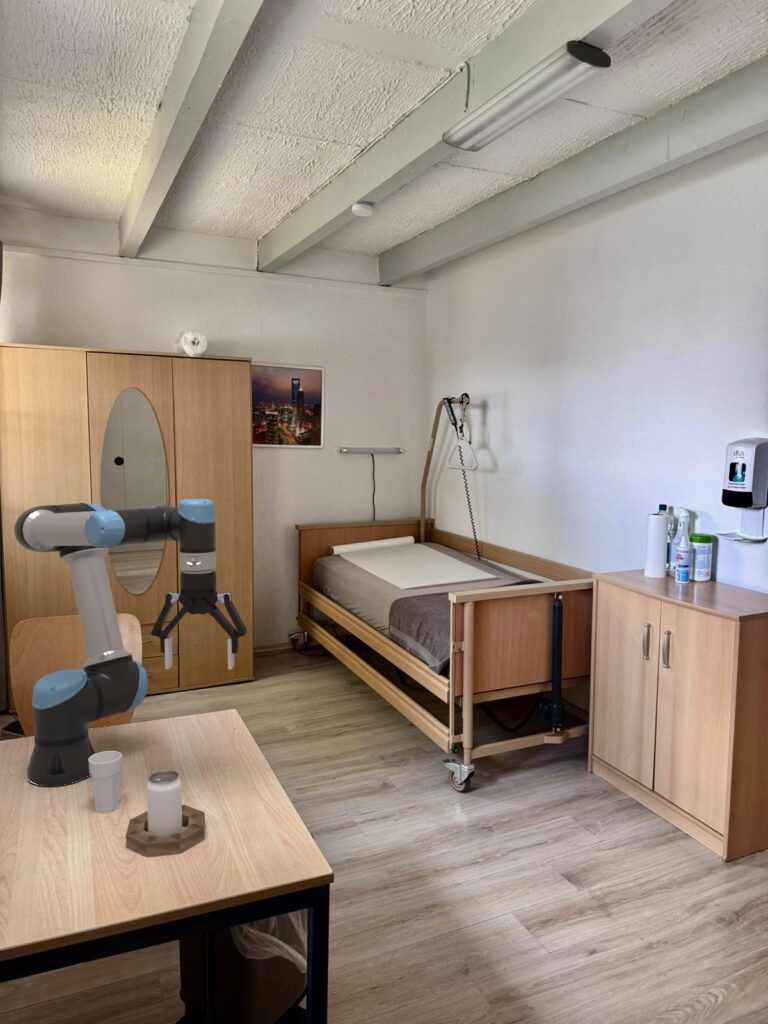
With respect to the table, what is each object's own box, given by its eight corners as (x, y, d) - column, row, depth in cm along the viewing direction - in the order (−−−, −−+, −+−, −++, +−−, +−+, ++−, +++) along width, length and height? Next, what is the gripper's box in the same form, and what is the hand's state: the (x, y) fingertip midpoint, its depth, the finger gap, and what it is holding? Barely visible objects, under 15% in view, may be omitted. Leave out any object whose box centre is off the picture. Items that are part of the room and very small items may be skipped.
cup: (129, 806, 157) (127, 756, 156) (99, 817, 152) (97, 766, 151) (114, 796, 161) (112, 748, 160) (84, 807, 157) (83, 757, 156)
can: (152, 827, 148) (151, 769, 147) (185, 826, 149) (183, 768, 148) (144, 844, 142) (142, 784, 141) (178, 843, 142) (177, 783, 141)
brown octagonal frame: (112, 841, 143) (111, 828, 143) (170, 810, 155) (170, 799, 155) (162, 863, 135) (162, 850, 135) (220, 830, 147) (219, 818, 147)
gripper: (134, 573, 155) (137, 672, 156) (252, 574, 154) (253, 672, 156) (146, 567, 162) (148, 662, 164) (259, 568, 162) (260, 662, 163)
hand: (200, 667), depth 160 cm, fingers open, 13 cm apart
